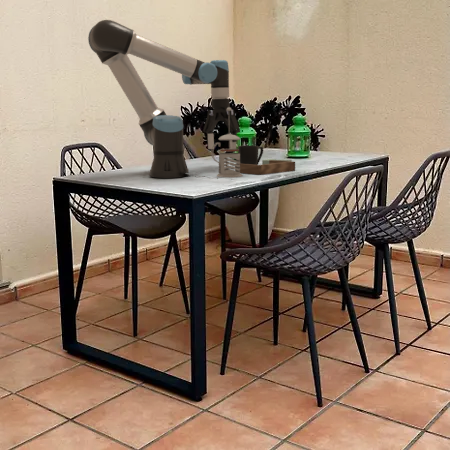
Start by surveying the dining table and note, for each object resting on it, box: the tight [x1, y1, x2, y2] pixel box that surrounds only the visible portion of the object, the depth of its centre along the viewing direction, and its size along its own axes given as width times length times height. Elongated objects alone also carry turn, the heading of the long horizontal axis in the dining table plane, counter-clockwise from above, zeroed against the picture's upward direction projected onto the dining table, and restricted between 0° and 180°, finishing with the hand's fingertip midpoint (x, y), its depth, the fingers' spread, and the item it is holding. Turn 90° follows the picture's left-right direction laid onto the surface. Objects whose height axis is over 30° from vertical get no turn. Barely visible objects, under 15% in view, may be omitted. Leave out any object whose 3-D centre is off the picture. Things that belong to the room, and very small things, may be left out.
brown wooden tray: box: [234, 159, 296, 176], centre depth 250 cm, size 21×13×4 cm, turn 134°
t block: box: [261, 158, 293, 165], centre depth 269 cm, size 8×11×3 cm
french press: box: [210, 107, 244, 178], centre depth 235 cm, size 10×12×25 cm
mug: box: [237, 145, 264, 165], centre depth 259 cm, size 8×12×10 cm
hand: (221, 149), depth 270 cm, fingers open, 13 cm apart
